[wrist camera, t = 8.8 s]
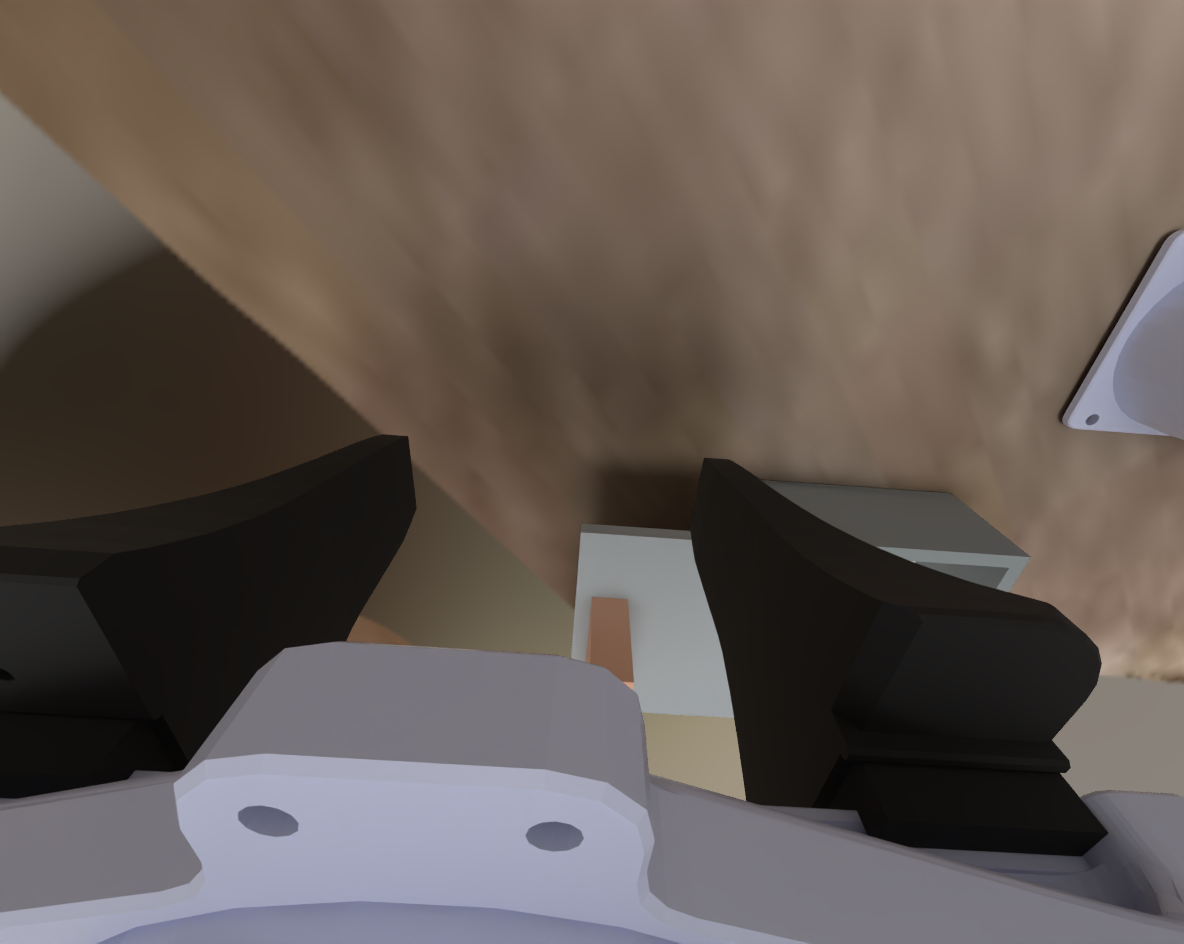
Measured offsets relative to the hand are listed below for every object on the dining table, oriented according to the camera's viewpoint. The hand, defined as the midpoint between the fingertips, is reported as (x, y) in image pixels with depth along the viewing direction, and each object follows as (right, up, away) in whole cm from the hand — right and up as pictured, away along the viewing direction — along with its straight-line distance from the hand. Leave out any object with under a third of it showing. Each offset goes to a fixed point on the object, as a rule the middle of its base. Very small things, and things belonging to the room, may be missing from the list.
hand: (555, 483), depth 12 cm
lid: (+5, -7, +10) cm, 13 cm away
